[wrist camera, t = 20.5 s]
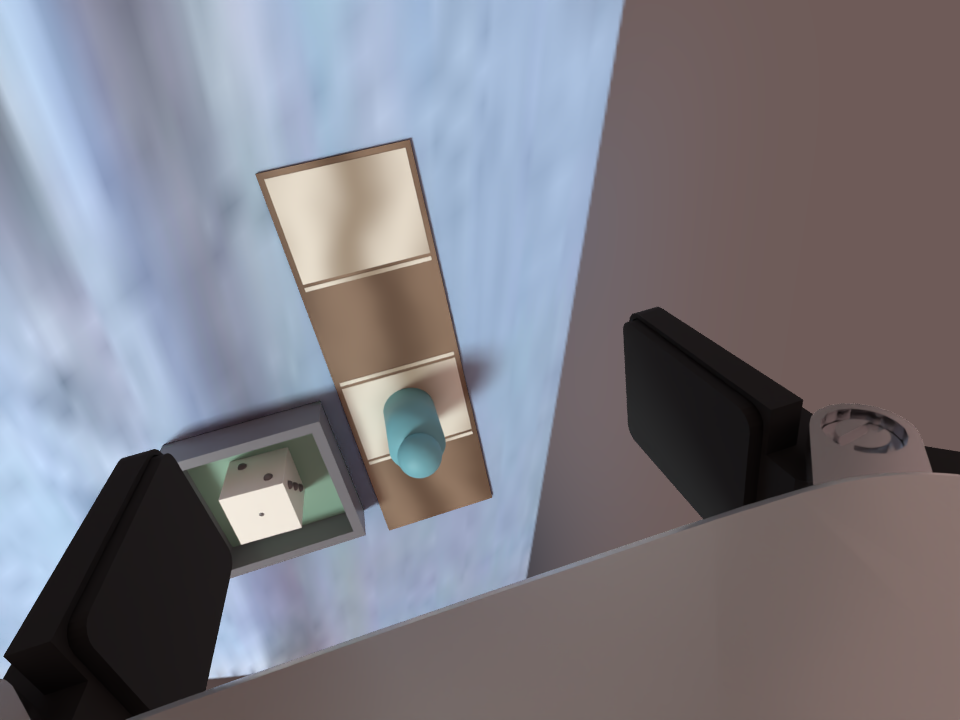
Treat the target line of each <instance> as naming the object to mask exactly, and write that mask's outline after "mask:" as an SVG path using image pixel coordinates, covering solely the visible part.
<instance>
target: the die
mask: <svg viewBox="0 0 960 720" xmlns="http://www.w3.org/2000/svg"><path fill="white" fill-rule="evenodd" d="M304 492H305V489H304V486H303V484H302V481H301V479H300V476H299V474H298V471H297V469H296V466H295V464H294V461H293V459H292V456H291V454H290V452H289V449H288V447H286V448H282V449H278V450H274V451H270V452H266V453H263V454H259V455H255V456H251V457H247V458H243V459H239V460H236V461H232V462H229V466H228V469H227V473H226V476H225V480H224V483H223V487H222V490H221V493H220V497H219V502H220V504H221V506H222V508H223V510H224V512H225V514H226V516H227V518H228V520H229V522H230V524H231V526H232V528H233V530H234V531H235V533H236V535H237V537H238V539H239V541H240V543H241V545H242V544H245V543H249V542H253V541H256V540H260V539H263V538H267V537H270V536H274V535H277V534H281V533H284V532H288V531H292V530H295V529H299V528H302V518H303V505H304Z"/></svg>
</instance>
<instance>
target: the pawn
mask: <svg viewBox="0 0 960 720" xmlns="http://www.w3.org/2000/svg"><path fill="white" fill-rule="evenodd" d="M383 414H384V420H385V427H386V433H387V440H388V447H389V453H390V456H391V458H392V460H393V461H394V462H395V463H396V464H397V465H398V466H400V468H401V469H402V470H403V472H404V473H406V474H407V475H409V476H411V477H413V478H425V477H428V476H430V475H432V474H433V473H434V472H435V471H436V470H437V469H438V468H439V466H440V464H441V460H442V455H443V453H444V450H445V447H446V440H445V436H444V433H443V430H442V427H441V424H440V421H439V418H438V414H437V411H436V408H435V405H434V402H433V400H432V398H431V396H430V395H429V394H428V393H427V392H425V391H423V390H421V389H418V388H404V389H401V390H398V391H397V392H395V393H393V394H392V395H391V396H390V397H389V398H388V399H387V401H386V403H385V405H384V409H383Z"/></svg>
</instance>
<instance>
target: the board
mask: <svg viewBox="0 0 960 720" xmlns="http://www.w3.org/2000/svg"><path fill="white" fill-rule="evenodd" d="M256 177H257V180H258V182H259V185H260V188H261V190H262V193H263V196H264V198H265V201H266V204H267V206H268V209H269V212H270V214H271V217H272V220H273V222H274V225H275V228H276V230H277V233H278V236H279V238H280V241H281V244H282V246H283V249H284V252H285V254H286V257H287V260H288V262H289V265H290V268H291V270H292V273H293V276H294V278H295V281H296V284H297V286H298V289H299V292H300V294H301V297H302V300H303V302H304V305H305V308H306V310H307V313H308V316H309V318H310V321H311V324H312V326H313V329H314V331H315V334H316V337H317V339H318V342H319V345H320V347H321V350H322V353H323V355H324V358H325V361H326V363H327V366H328V369H329V371H330V374H331V377H332V379H333V382H334V385H335V387H336V390H337V393H338V395H339V398H340V401H341V403H342V406H343V409H344V411H345V414H346V417H347V419H348V422H349V425H350V427H351V430H352V433H353V435H354V438H355V441H356V443H357V446H358V449H359V451H360V454H361V457H362V459H363V462H364V465H365V467H366V470H367V473H368V475H369V478H370V480H371V483H372V486H373V488H374V491H375V494H376V496H377V499H378V502H379V504H380V507H381V510H382V512H383V515H384V518H385V520H386V523H387V526H388V528H389V530H392V529H395V528H399V527H402V526H405V525H408V524H411V523H414V522H417V521H420V520H424V519H427V518H430V517H433V516H436V515H439V514H442V513H445V512H448V511H452V510H455V509H458V508H461V507H464V506H467V505H470V504H473V503H477V502H480V501H483V500H486V499H489V498H492V495H491V490H490V486H489V482H488V477H487V473H486V469H485V464H484V460H483V456H482V451H481V447H480V443H479V438H478V434H477V429H476V425H475V421H474V416H473V412H472V408H471V403H470V399H469V395H468V390H467V386H466V382H465V377H464V373H463V369H462V364H461V360H460V356H459V351H458V347H457V343H456V338H455V334H454V330H453V325H452V321H451V317H450V312H449V308H448V304H447V299H446V295H445V290H444V286H443V282H442V277H441V273H440V269H439V264H438V260H437V256H436V251H435V247H434V243H433V238H432V234H431V230H430V225H429V221H428V217H427V212H426V208H425V204H424V199H423V195H422V191H421V186H420V182H419V178H418V173H417V169H416V164H415V160H414V156H413V151H412V147H411V143H410V140H405V141H401V142H396V143H392V144H387V145H383V146H378V147H374V148H369V149H365V150H360V151H356V152H351V153H347V154H343V155H338V156H334V157H329V158H325V159H320V160H316V161H311V162H307V163H302V164H298V165H293V166H289V167H284V168H280V169H276V170H271V171H267V172H262V173H258V174H256ZM404 388H418V389H421V390H423V391H425V392H427V393H428V394H429V395H430V396H431V398H432V400H433V402H434V405H435V408H436V411H437V414H438V418H439V421H440V424H441V427H442V430H443V433H444V436H445V440H446V447H445V450H444V453H443V455H442V460H441V464H440V466H439V468H438V469H437V470H436V471H435V472H434V473H433V474H432V475H430V476H428V477H425V478H413V477H411V476H409V475H407V474H406V473H404V472H403V470H402V469H401V468H400V466H398V465H397V464H396V463H395V462H394V461H393V460H392V458H391V456H390V453H389V447H388V440H387V433H386V427H385V420H384V414H383V409H384V405H385V403H386V401H387V399H388V398H389V397H390V396H391V395H392V394H393V393H395V392H397V391H398V390H401V389H404Z"/></svg>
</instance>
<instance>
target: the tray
mask: <svg viewBox="0 0 960 720" xmlns="http://www.w3.org/2000/svg"><path fill="white" fill-rule="evenodd" d="M286 447H288V449H289V452H290V454H291V456H292V459H293V461H294V464H295V466H296V469H297V471H298V474H299V476H300V479H301V481H302V484H303V486H304V489H305V492H304V505H303V518H302V528H299V529H295V530H292V531H288V532H284V533H281V534H277V535H274V536H270V537H267V538H263V539H260V540H256V541H253V542H249V543H245V544H242V545H241V543H240V541H239V539H238V537H237V535H236V533H235V531H234V530H233V528H232V526H231V524H230V522H229V520H228V518H227V516H226V514H225V512H224V510H223V508H222V506H221V504H220V502H219V497H220V493H221V490H222V487H223V483H224V480H225V476H226V473H227V469H228V466H229V462H232V461H236V460H239V459H243V458H247V457H251V456H255V455H259V454H263V453H266V452H270V451H274V450H278V449H282V448H286ZM160 452H161V453H162V454H166V453H169V454H171V455H172V456H173V457H174V458H175V459H176V461H177V463H178V464H179V466H180V468H181V469H182V471H183V473H184V474H185V476H186V478H187V479H188V481H189V483H190V484H191V486H192V488H193V489H194V491H195V493H196V494H197V496H198V498H199V499H200V501H201V503H202V504H203V506H204V508H205V509H206V511H207V513H208V514H209V516H210V518H211V519H212V521H213V523H214V524H215V526H216V528H217V529H218V531H219V533H220V534H221V536H222V538H223V539H224V541H225V543H226V544H227V546H228V548H229V550H230V552H231V556H232V571H231V575H230V578H233V577H236V576H239V575H242V574H245V573H248V572H252V571H255V570H258V569H261V568H264V567H267V566H270V565H273V564H277V563H280V562H283V561H286V560H289V559H292V558H295V557H298V556H302V555H305V554H308V553H311V552H314V551H317V550H320V549H323V548H327V547H330V546H333V545H336V544H339V543H342V542H345V541H349V540H352V539H355V538H358V537H361V536H364V535H366V533H365V519H364V510H363V507H362V505H361V502H360V500H359V497H358V495H357V492H356V489H355V487H354V484H353V482H352V479H351V477H350V474H349V472H348V469H347V467H346V464H345V462H344V459H343V457H342V454H341V452H340V449H339V447H338V444H337V442H336V439H335V437H334V434H333V432H332V429H331V427H330V424H329V422H328V419H327V417H326V414H325V412H324V409H323V407H322V404H321V402H320V401H318V402H315V403H311V404H308V405H304V406H301V407H297V408H294V409H290V410H286V411H283V412H279V413H276V414H272V415H269V416H265V417H262V418H258V419H255V420H251V421H248V422H244V423H241V424H237V425H233V426H230V427H226V428H223V429H219V430H216V431H212V432H209V433H205V434H202V435H198V436H195V437H191V438H188V439H184V440H181V441H177V442H173V443H170V444H166V445H163V446H162V448H161V450H160Z"/></svg>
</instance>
